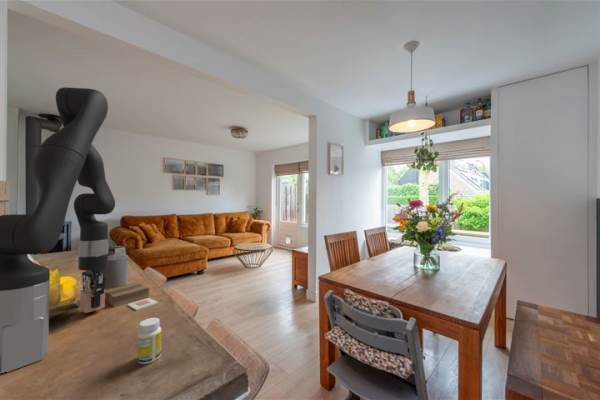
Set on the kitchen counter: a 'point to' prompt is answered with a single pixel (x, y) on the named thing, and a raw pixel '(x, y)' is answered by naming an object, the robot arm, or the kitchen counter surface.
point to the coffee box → (117, 250)
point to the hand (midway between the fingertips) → (92, 305)
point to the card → (142, 304)
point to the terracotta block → (86, 301)
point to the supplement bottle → (149, 341)
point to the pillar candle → (116, 271)
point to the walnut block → (126, 294)
